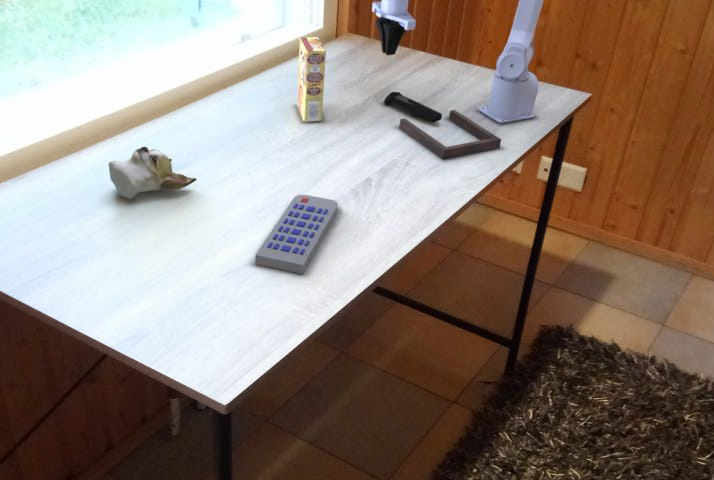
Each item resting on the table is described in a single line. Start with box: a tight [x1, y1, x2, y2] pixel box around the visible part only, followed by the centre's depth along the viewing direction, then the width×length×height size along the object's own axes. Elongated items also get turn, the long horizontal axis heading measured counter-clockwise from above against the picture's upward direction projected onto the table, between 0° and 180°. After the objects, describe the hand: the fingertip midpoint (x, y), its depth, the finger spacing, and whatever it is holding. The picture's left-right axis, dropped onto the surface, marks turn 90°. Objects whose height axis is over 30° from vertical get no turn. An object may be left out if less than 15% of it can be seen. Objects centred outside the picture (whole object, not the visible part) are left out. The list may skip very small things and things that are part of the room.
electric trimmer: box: [383, 91, 443, 123], centre depth 178 cm, size 4×16×3 cm, turn 36°
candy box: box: [297, 36, 327, 123], centre depth 173 cm, size 9×4×15 cm, turn 8°
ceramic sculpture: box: [108, 146, 197, 200], centre depth 146 cm, size 11×9×15 cm
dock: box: [398, 109, 502, 160], centre depth 169 cm, size 14×16×2 cm
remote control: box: [254, 194, 339, 275], centre depth 137 cm, size 8×23×2 cm, turn 160°
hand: (388, 53), depth 182 cm, fingers closed
